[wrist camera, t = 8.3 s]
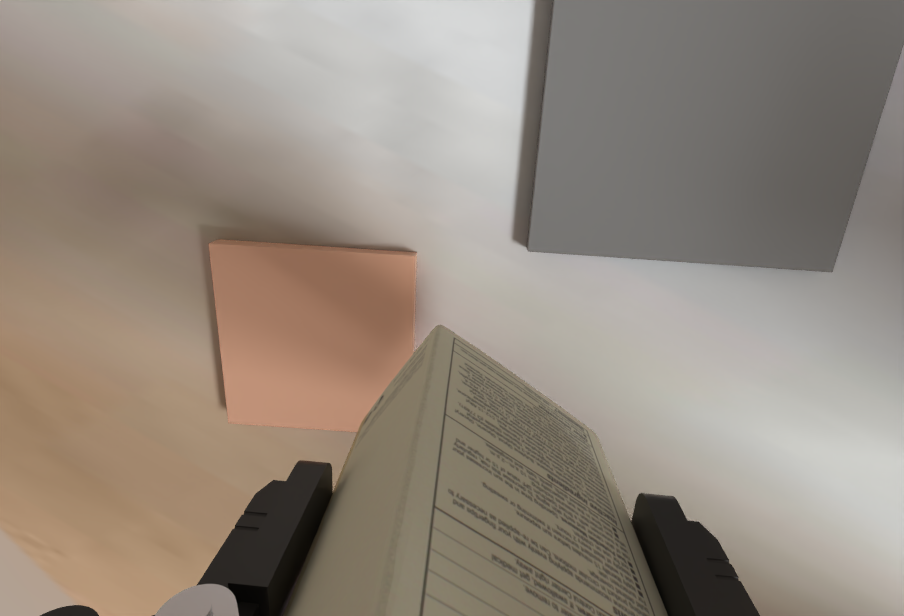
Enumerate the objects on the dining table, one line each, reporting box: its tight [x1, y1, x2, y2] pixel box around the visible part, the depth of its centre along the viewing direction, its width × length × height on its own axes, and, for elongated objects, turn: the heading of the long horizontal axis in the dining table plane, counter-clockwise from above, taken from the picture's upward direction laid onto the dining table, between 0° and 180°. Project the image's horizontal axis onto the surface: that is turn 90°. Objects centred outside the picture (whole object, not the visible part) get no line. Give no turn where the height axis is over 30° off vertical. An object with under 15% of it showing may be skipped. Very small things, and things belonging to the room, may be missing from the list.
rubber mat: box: [527, 0, 904, 272], centre depth 17 cm, size 11×11×1 cm
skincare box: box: [283, 325, 668, 616], centre depth 10 cm, size 6×4×12 cm
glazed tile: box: [208, 239, 417, 432], centre depth 22 cm, size 1×8×8 cm
